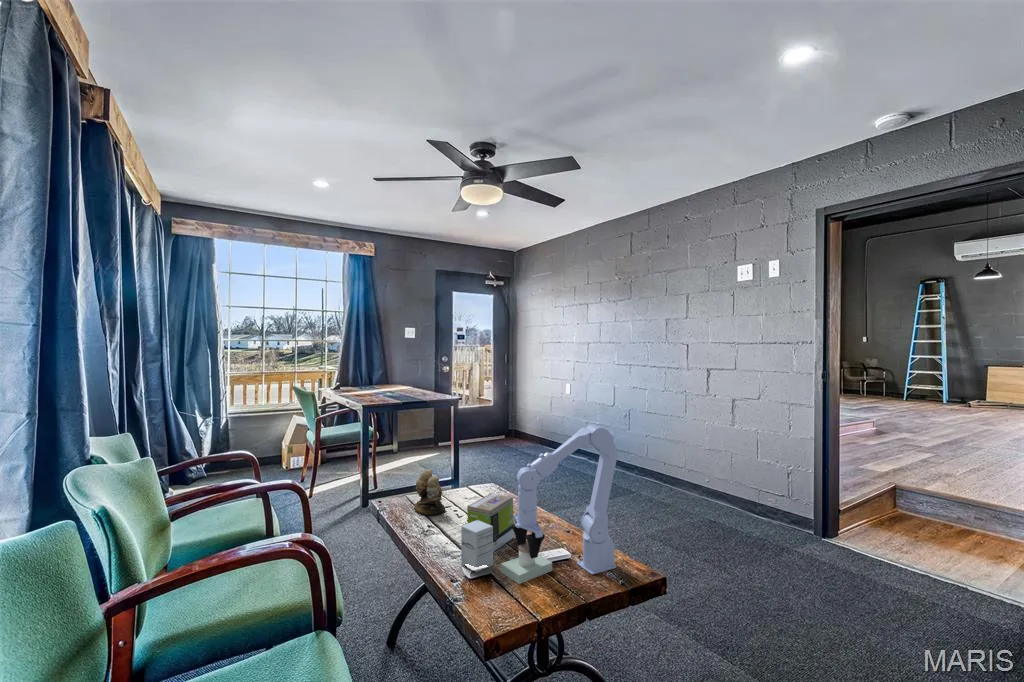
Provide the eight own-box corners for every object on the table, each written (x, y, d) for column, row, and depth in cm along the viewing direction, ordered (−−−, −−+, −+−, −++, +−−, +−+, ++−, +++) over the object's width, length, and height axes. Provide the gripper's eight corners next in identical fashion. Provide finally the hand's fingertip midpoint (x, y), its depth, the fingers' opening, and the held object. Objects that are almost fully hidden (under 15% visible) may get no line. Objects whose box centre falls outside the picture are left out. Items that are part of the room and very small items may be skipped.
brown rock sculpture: (452, 513, 194) (452, 471, 193) (425, 520, 187) (425, 477, 187) (433, 500, 208) (433, 462, 208) (408, 506, 202) (407, 466, 201)
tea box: (491, 532, 174) (491, 492, 174) (514, 538, 169) (514, 496, 169) (466, 547, 162) (466, 504, 162) (491, 554, 156) (491, 509, 156)
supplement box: (460, 565, 149) (460, 525, 149) (478, 557, 154) (478, 519, 154) (475, 573, 144) (475, 532, 144) (493, 565, 149) (493, 525, 149)
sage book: (533, 561, 153) (532, 551, 153) (552, 572, 145) (552, 562, 145) (500, 573, 145) (500, 563, 145) (518, 585, 138) (518, 575, 138)
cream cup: (530, 557, 148) (530, 542, 148) (538, 565, 144) (538, 549, 143) (515, 561, 146) (515, 545, 146) (522, 568, 141) (523, 552, 141)
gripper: (505, 502, 149) (505, 545, 149) (527, 518, 136) (528, 565, 136) (524, 499, 152) (524, 541, 152) (548, 513, 140) (548, 559, 140)
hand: (527, 552), depth 145 cm, fingers open, 7 cm apart
